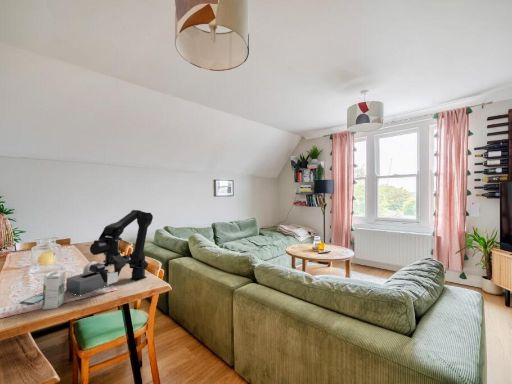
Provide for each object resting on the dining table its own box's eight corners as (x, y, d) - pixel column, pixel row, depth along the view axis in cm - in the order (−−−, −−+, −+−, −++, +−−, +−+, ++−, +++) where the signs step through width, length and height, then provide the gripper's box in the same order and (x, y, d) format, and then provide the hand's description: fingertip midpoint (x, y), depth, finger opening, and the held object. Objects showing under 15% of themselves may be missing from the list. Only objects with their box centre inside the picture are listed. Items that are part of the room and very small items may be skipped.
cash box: (97, 281, 135) (98, 269, 135) (110, 285, 130) (111, 272, 130) (66, 291, 120) (66, 278, 120) (79, 296, 116) (79, 282, 116)
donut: (86, 282, 133) (86, 264, 133) (81, 281, 134) (81, 263, 134) (100, 276, 143) (101, 259, 143) (96, 275, 144) (96, 259, 144)
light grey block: (114, 280, 124) (114, 271, 124) (117, 281, 123) (117, 271, 123) (104, 284, 119) (104, 274, 119) (107, 285, 118) (107, 275, 118)
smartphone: (18, 302, 107) (51, 288, 122) (18, 304, 107) (51, 290, 122) (32, 304, 106) (63, 289, 121) (32, 306, 106) (63, 291, 121)
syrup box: (48, 304, 107) (49, 272, 107) (64, 302, 109) (65, 271, 109) (41, 310, 102) (42, 276, 102) (58, 308, 104) (59, 275, 104)
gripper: (104, 256, 110) (103, 290, 110) (138, 248, 127) (137, 277, 127) (89, 253, 114) (88, 285, 114) (124, 245, 131) (123, 274, 131)
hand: (111, 280), depth 121 cm, fingers closed on light grey block, 5 cm apart
